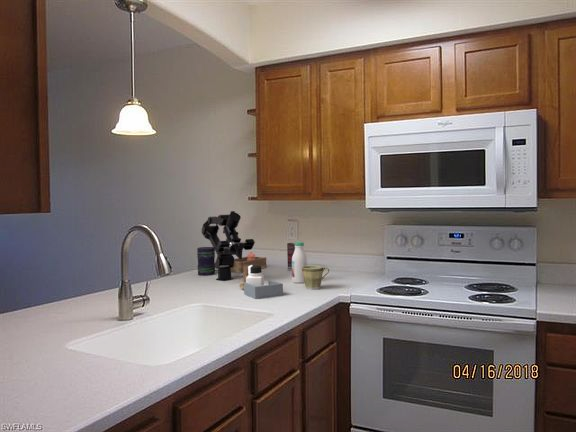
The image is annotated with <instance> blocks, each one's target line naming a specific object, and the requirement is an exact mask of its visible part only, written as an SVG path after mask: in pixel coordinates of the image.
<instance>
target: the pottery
mask: <svg viewBox="0 0 576 432" xmlns="http://www.w3.org/2000/svg"><path fill="white" fill-rule="evenodd" d="M246 257H248V258H247V261H250V260H255V257H256V254H255V253H253V252H252V251H250V252H249V254H247V255H246Z"/></svg>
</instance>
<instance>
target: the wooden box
mask: <svg viewBox="0 0 576 432" xmlns="http://www.w3.org/2000/svg"><path fill="white" fill-rule="evenodd" d="M247 258H248V257H247V256H244V257H243V256H242V259H239V258H238V257H237V258H234V266H233V268H231V273H239V274H240V273H241V274H244V268H243V267H249V266H250V265H260V266H261V267H262V269H266V268H267V257H262V256H255V260H250V261H247ZM225 266H227V265H225Z"/></svg>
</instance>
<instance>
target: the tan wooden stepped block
mask: <svg viewBox="0 0 576 432" xmlns="http://www.w3.org/2000/svg"><path fill="white" fill-rule="evenodd" d="M243 268H244V273H243V281H242V282H239V287H240V288H241V289H242V290H244V283H246V277H247V276H248V267H243Z"/></svg>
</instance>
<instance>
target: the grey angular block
mask: <svg viewBox="0 0 576 432" xmlns="http://www.w3.org/2000/svg"><path fill="white" fill-rule="evenodd" d="M243 294H244V295H245V296H247V297H250V298H252V299H255V300H257V299H264V298H271V297H279V296H283V295H284V283H282V282H278V281H276V280H272V279H269V280H268V284H266V285H265V284H264V286H254V285H251V284H248V283H244V289H243Z"/></svg>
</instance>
